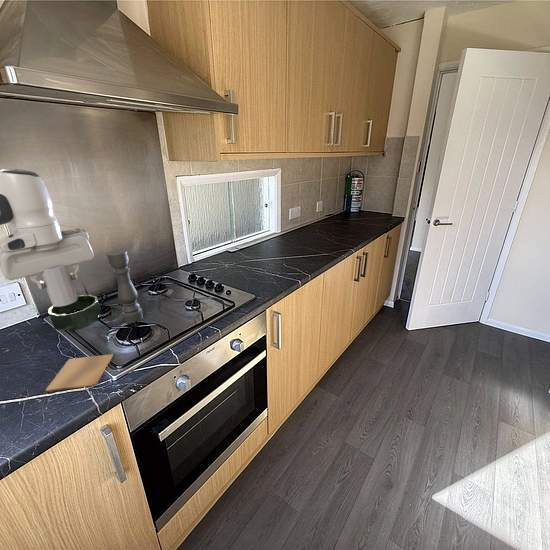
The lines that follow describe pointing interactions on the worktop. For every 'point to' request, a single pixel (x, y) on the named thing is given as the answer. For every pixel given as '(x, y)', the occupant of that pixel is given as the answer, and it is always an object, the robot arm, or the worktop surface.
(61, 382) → the mat
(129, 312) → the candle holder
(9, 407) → the worktop surface
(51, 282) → the cup
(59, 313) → the bowl
